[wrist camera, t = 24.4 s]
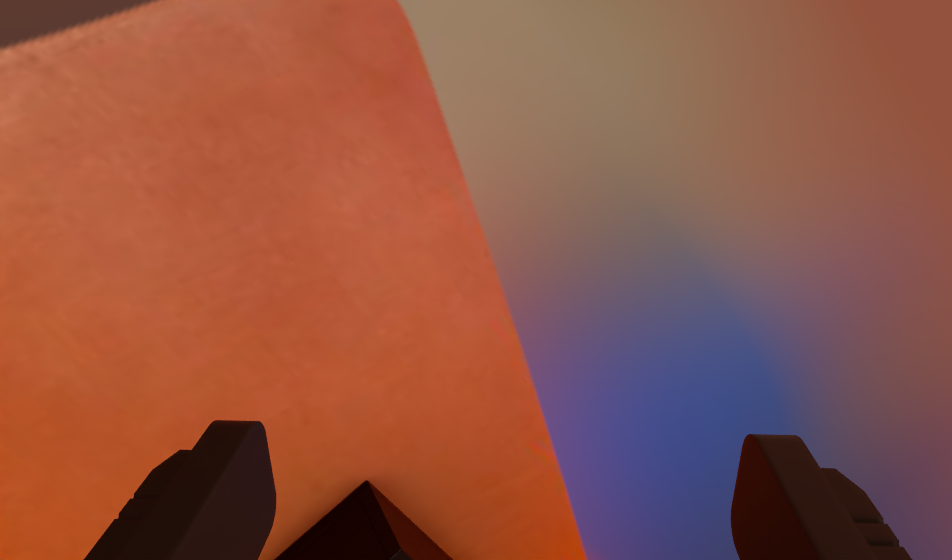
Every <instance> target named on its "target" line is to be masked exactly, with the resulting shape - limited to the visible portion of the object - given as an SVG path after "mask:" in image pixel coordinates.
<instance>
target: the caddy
mask: <svg viewBox="0 0 952 560" xmlns="http://www.w3.org/2000/svg"><path fill="white" fill-rule="evenodd" d="M275 560H453V559H452V558H450V557H449V556H448V555H447V554H446V553H445V552H444V551H443V550H442V549H441V548H440V547H439V546H438V545H436V544H435V543H434V542H433V541H432V540H431V539H430V538H429V537H428V536H427V535H426V534H425V533H424V532H422V531H421V530H420V529H419V528H418V527H417V526H416V525H415V524H414V523H413V522H412V521H411V520H410V519H408V518H407V517H406V516H405V515H404V514H403V513H402V512H401V511H400V510H399V509H398V508H397V507H396V506H394V505H393V504H392V503H391V502H390V501H389V500H388V499H387V498H386V497H385V496H384V495H383V494H382V493H380V492H379V491H378V490H377V489H376V488H375V487H374V486H373V485H372V484H371V483H370V482H369V481H366V482H364V483H363V484H362V485H361V486H360V487H359V488H357V489H356V490H355V491H354V492H353V493H352V494H351V495H349V496H348V497H347V498H346V499H345V500H344V501H342V502H341V503H340V504H339V505H338V506H337V507H335V508H334V509H333V510H332V511H331V512H330V513H329V514H327V515H326V516H325V517H324V518H323V519H322V520H320V521H319V522H318V523H317V524H316V525H315V526H313V527H312V528H311V529H310V530H309V531H308V532H307V533H305V534H304V535H303V536H302V537H301V538H300V539H298V540H297V541H296V542H295V543H294V544H293V545H291V546H290V547H289V548H288V549H287V550H286V551H285V552H283V553H282V554H281V555H280V556H279V557H278V558H276V559H275Z"/></svg>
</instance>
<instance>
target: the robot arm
mask: <svg viewBox="0 0 952 560" xmlns="http://www.w3.org/2000/svg"><path fill="white" fill-rule="evenodd" d="M275 510H276V491H275V485H274V479H273V473H272V467H271V461H270V455H269V449H268V443H267V437H266V432H265V428H264V426H263V424H262V423H261V422H259V421H226V420H216V421H213V422H212V423H211V424H210V425H209V427H208V428H207V429H206V431H205V432H204V434H203V435H202V436H201V438H200V439H199V441H198V442H197V443H196V445H195V446H194V448H193V449H192V450H179V451H178V452H176V453H175V454H174V455H172V456H171V457H170V458H168V459H167V460H165V461H164V462H163V463H161V464H160V465H159V466H157V467H156V468H154V469H153V470H152V471H151V472H150V474H149V475H148V476H147V478H146V479H145V480H144V482H143V483H142V484H141V485H140V487H139V488H138V489H137V491H136V492H135V493H134V498H133V499H130V500H129V501H128V502H127V504H126V505H125V506H124V508H123V509H122V510H121V512H120V513H119V518H118V519H114V521H113V522H112V523H111V525H110V526H109V527H108V529H107V530H106V531H105V533H104V534H103V535H102V536H101V538H100V539H99V540H98V542H97V543H96V544H95V546H94V547H93V548H92V550H91V551H90V552H89V553H88V555H87V556H86V557H85V559H84V560H258V557H259V555H260V553H261V551H262V549H263V547H264V544H265V542H266V540H267V538H268V536H269V533H270V531H271V528H272V525H273V521H274V517H275ZM731 528H732V536H733V541H734V544H735V548H736V551H737V553H738V556H739V558H740V560H912V559H911V558H910V556H909V555H908V553H907V552H906V550H905V549H904V548H903V547H900V546H899V540H898V539H897V538H896V536H895V535H894V533H893V532H892V530H891V529H890V527H889V526H888V525H887V524H884V522H883V518H882V516H881V514H880V513H879V512H878V510H877V509H876V507H875V506H874V504H873V503H872V502H871V500H870V499H869V497H868V496H867V494H866V493H865V492H864V491H863V490H862V489H861V488H859V487H858V486H857V485H855V484H854V483H853V482H851V481H850V480H849V479H848V478H846V477H845V476H844V475H843V474H841V473H840V472H839V471H838V470H836V469H831V468H820V467H819V466H818V464H817V462H816V461H815V459H814V458H813V456H812V455H811V453H810V451H809V450H808V448H807V447H806V445H805V444H804V442H803V441H802V439H801V438H800V437H798V436H796V435H760V434H749V435H747V436H746V437H745V439H744V442H743V446H742V451H741V457H740V463H739V468H738V473H737V479H736V485H735V490H734V496H733V501H732V507H731Z"/></svg>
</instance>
